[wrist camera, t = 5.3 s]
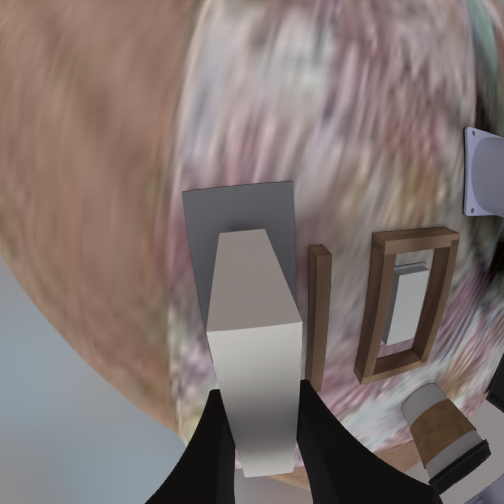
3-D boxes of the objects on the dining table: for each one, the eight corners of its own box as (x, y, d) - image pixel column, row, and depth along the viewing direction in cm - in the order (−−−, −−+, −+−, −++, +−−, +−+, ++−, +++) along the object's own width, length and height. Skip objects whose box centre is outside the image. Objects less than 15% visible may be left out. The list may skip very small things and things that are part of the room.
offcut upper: (422, 265, 20) (429, 270, 19) (408, 331, 22) (413, 337, 21) (393, 270, 20) (399, 275, 19) (381, 339, 22) (386, 345, 21)
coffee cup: (403, 387, 26) (457, 480, 12) (451, 368, 26) (507, 442, 12) (386, 424, 29) (423, 505, 15) (431, 406, 29) (473, 474, 15)
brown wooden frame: (445, 226, 19) (459, 233, 17) (416, 353, 24) (425, 364, 22) (308, 238, 19) (316, 248, 17) (304, 381, 23) (309, 396, 22)
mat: (291, 181, 17) (292, 181, 17) (295, 352, 22) (296, 355, 22) (182, 191, 17) (181, 192, 17) (212, 361, 22) (212, 363, 21)
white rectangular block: (264, 228, 15) (302, 322, 7) (272, 366, 18) (292, 472, 10) (219, 233, 14) (206, 332, 7) (238, 370, 18) (245, 477, 10)
